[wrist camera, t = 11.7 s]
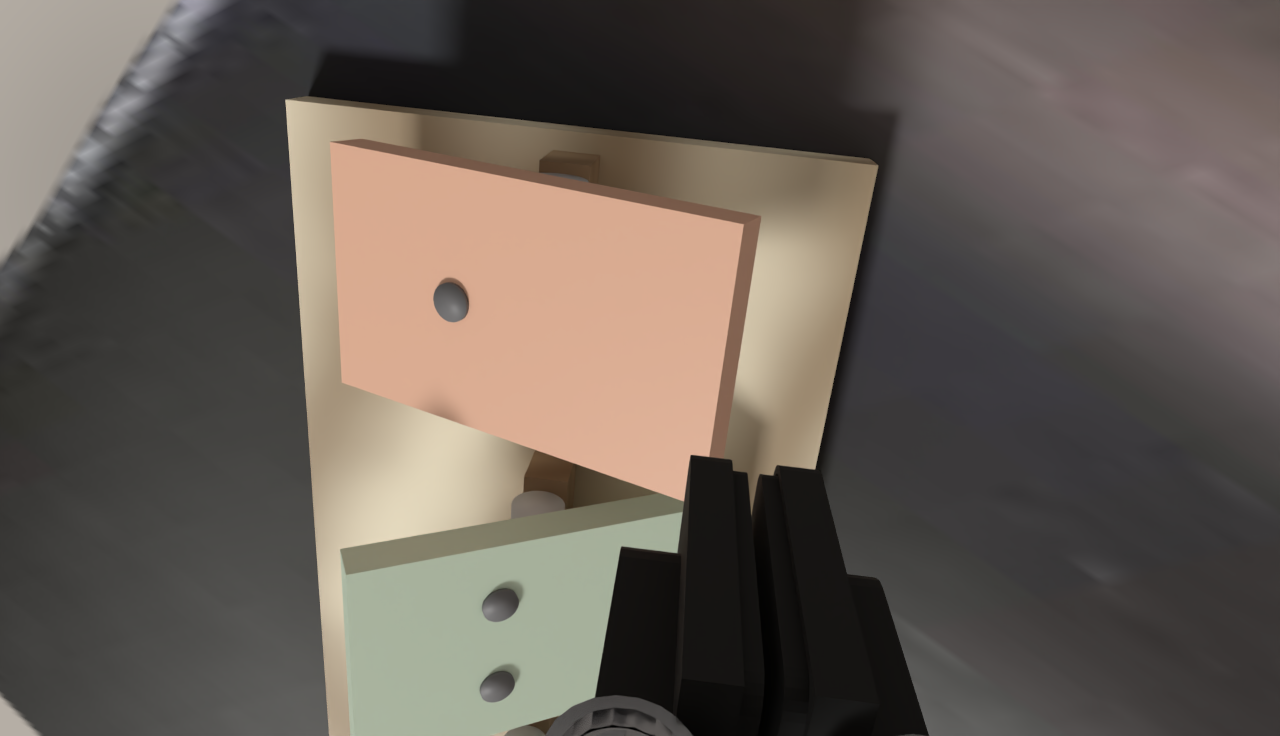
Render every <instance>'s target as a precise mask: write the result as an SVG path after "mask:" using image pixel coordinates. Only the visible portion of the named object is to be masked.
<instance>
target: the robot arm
mask: <svg viewBox="0 0 1280 736" xmlns="http://www.w3.org/2000/svg"><path fill="white" fill-rule="evenodd" d="M545 736H929V734H928V731H927V728H926V725H925V722H924V718H923V715H922V712H921V709H920V706H919V702H918V699H917V696H916V693H915V690H914V686H913V683H912V680H911V677H910V674H909V670H908V667H907V664H906V661H905V658H904V654H903V651H902V648H901V645H900V641H899V638H898V635H897V632H896V629H895V625H894V622H893V619H892V616H891V613H890V609H889V606H888V603H887V600H886V597H885V593H884V590H883V588H882V585H881V583H880V581H879V580H878V579H876V578H873V577H865V576H857V575H849V574H847V572H846V568H845V565H844V561H843V557H842V553H841V549H840V545H839V541H838V537H837V533H836V529H835V525H834V521H833V517H832V513H831V509H830V505H829V501H828V498H827V494H826V490H825V486H824V482H823V478H822V474H821V472H820V470H815V469H806V468H798V467H790V466H781V465H777V466H776V468H775V471H774V474H773V475H764V474H760V475H759V477H758V481H757V486H756V492H755V497H754V503H753V509H752V515H751V506H750V495H749V483H748V474H747V472H739V471H733V463H732V460H731V459H723V458H714V457H706V456H698V455H691V456H690V461H689V468H688V475H687V482H686V490H685V498H684V505H683V513H682V520H681V528H680V536H679V543H678V551H677V553H672V552H664V551H656V550H648V549H640V548H632V547H624V546H621V549H620V554H619V560H618V566H617V572H616V577H615V583H614V589H613V595H612V601H611V606H610V612H609V618H608V624H607V630H606V635H605V641H604V647H603V653H602V659H601V664H600V670H599V676H598V682H597V688H596V693H595V698H592V699H589V700H587V701H584V702H582V703H579V704H577V705H574V706H572V707H571V708H569V709H568V710H567V711H566V712H564V713H563V714H562V715H560V716H559V717H558V718H557V719H555V721H554V722H553V724H552V725H551V727H550V728H549V730H548V731H547V733H546V734H545Z"/></svg>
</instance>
